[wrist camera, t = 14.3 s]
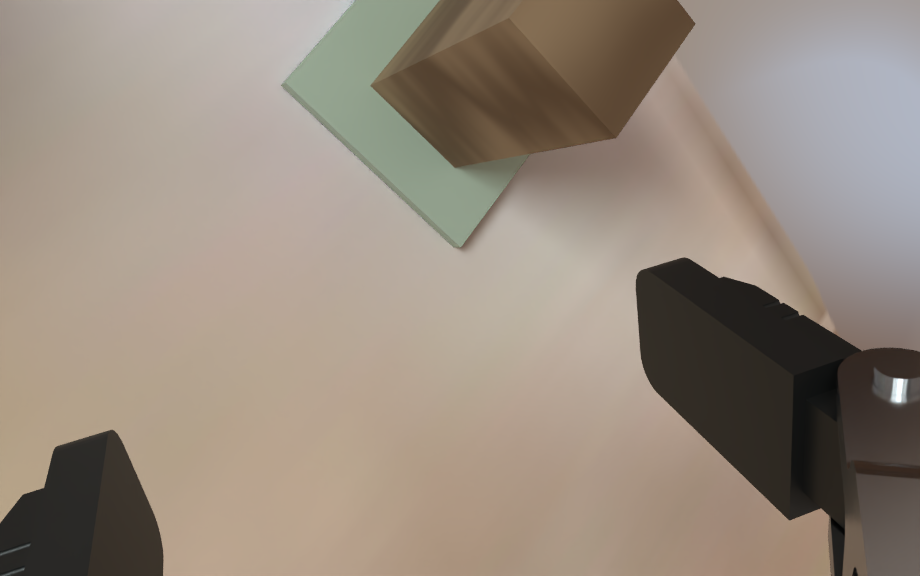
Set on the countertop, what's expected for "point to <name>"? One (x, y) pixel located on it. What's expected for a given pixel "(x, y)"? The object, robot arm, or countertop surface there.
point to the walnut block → (529, 72)
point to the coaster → (392, 118)
